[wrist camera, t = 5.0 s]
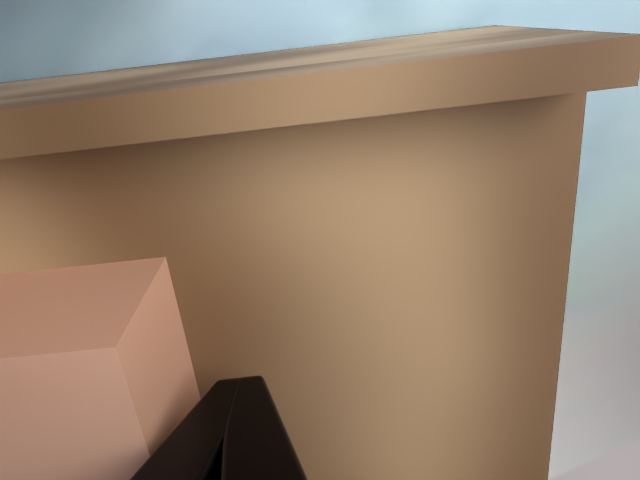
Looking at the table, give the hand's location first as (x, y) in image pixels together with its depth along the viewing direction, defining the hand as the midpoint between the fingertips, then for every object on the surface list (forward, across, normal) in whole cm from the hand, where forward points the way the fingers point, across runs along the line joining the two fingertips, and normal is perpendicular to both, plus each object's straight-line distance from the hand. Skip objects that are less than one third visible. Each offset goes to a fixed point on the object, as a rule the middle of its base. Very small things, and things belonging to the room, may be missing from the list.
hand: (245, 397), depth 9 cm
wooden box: (+5, +1, 0) cm, 5 cm away
